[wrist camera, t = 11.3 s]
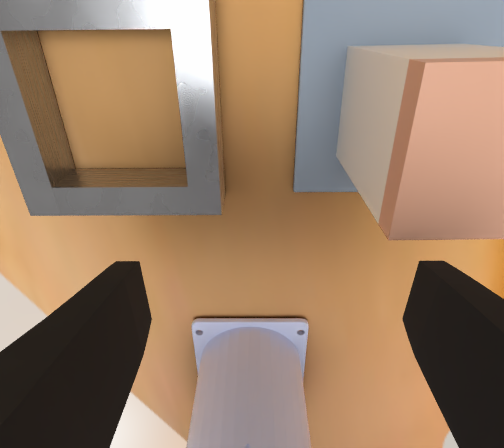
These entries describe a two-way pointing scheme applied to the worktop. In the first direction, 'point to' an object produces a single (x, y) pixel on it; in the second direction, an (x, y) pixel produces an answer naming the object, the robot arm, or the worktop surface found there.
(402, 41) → the rubber mat
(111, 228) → the worktop surface
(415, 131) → the beige pink box
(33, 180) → the frame
